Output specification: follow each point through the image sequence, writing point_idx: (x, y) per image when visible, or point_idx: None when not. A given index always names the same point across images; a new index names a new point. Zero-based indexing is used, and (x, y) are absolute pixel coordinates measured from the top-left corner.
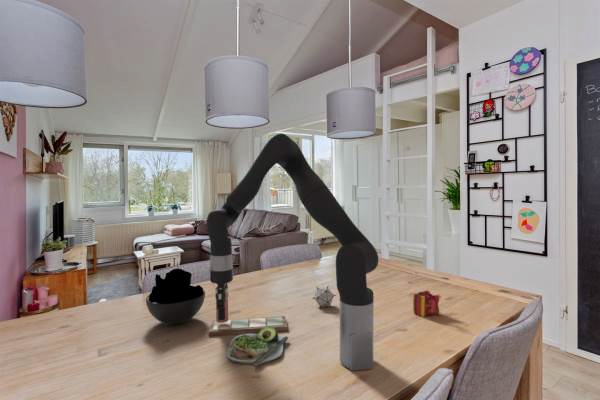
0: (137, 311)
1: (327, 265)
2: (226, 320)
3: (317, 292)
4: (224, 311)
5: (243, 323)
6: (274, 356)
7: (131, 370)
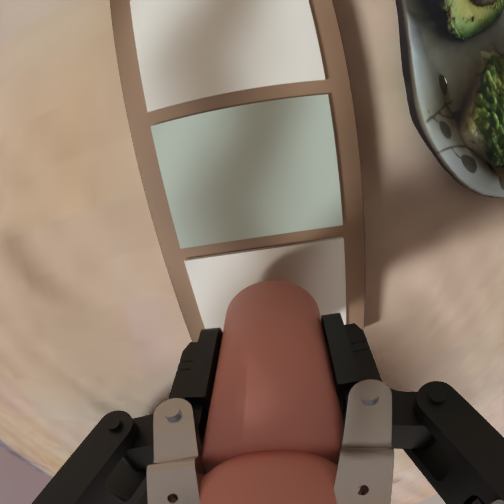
0: None
1: None
2: (302, 292)
3: None
4: (353, 362)
5: (247, 144)
6: None
7: (491, 413)
